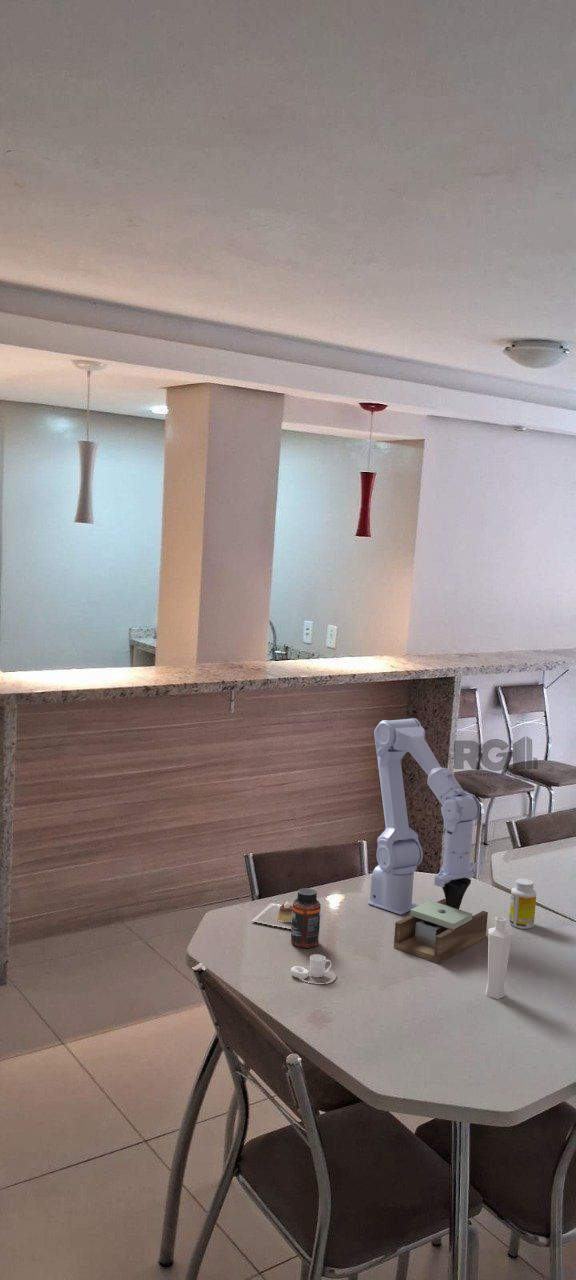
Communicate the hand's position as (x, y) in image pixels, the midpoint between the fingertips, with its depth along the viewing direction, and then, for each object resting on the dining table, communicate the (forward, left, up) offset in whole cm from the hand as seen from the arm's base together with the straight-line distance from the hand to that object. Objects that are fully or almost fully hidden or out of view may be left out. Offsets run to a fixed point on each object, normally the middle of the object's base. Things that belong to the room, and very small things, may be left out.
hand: (452, 910), depth 218 cm
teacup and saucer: (-12, -36, -6) cm, 38 cm away
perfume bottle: (+20, -18, -6) cm, 28 cm away
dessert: (-31, -19, -7) cm, 37 cm away
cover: (0, -5, 0) cm, 5 cm away
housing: (0, -4, -6) cm, 7 cm away
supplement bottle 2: (+8, +18, -6) cm, 20 cm away
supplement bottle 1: (-20, -26, -6) cm, 34 cm away
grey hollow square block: (0, -8, -5) cm, 9 cm away
